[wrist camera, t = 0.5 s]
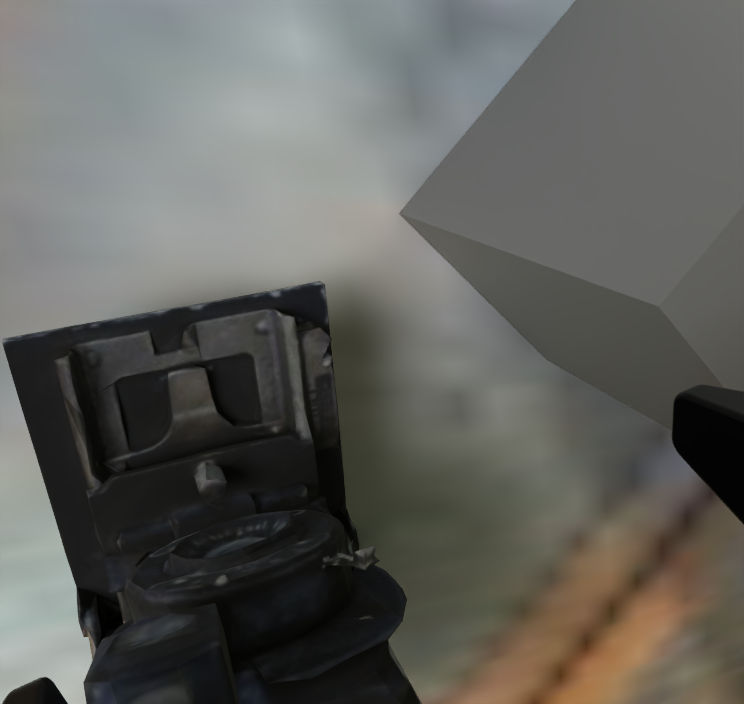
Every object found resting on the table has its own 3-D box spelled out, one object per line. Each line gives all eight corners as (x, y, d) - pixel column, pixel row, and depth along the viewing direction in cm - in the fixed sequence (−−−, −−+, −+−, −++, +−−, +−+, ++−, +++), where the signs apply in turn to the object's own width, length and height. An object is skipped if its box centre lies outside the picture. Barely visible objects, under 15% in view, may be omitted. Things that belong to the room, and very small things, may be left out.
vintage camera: (312, 254, 23) (1011, 685, 5) (357, 624, 28) (782, 1473, 10) (-5, 306, 20) (-918, 1683, 2) (111, 706, 25) (112, 2074, 7)
